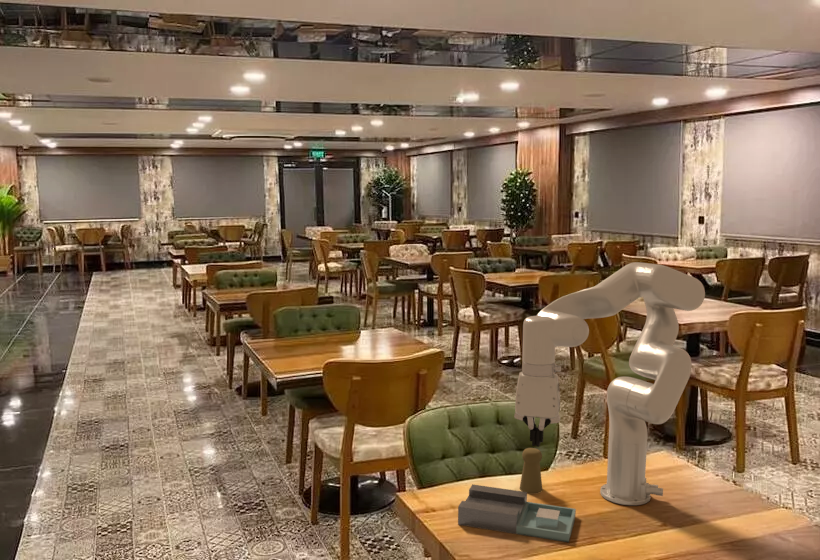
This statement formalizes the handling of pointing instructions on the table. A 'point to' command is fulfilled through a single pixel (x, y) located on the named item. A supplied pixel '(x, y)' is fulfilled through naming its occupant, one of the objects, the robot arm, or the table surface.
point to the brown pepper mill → (531, 471)
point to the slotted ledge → (492, 508)
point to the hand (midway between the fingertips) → (536, 444)
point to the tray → (561, 534)
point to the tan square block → (547, 518)
